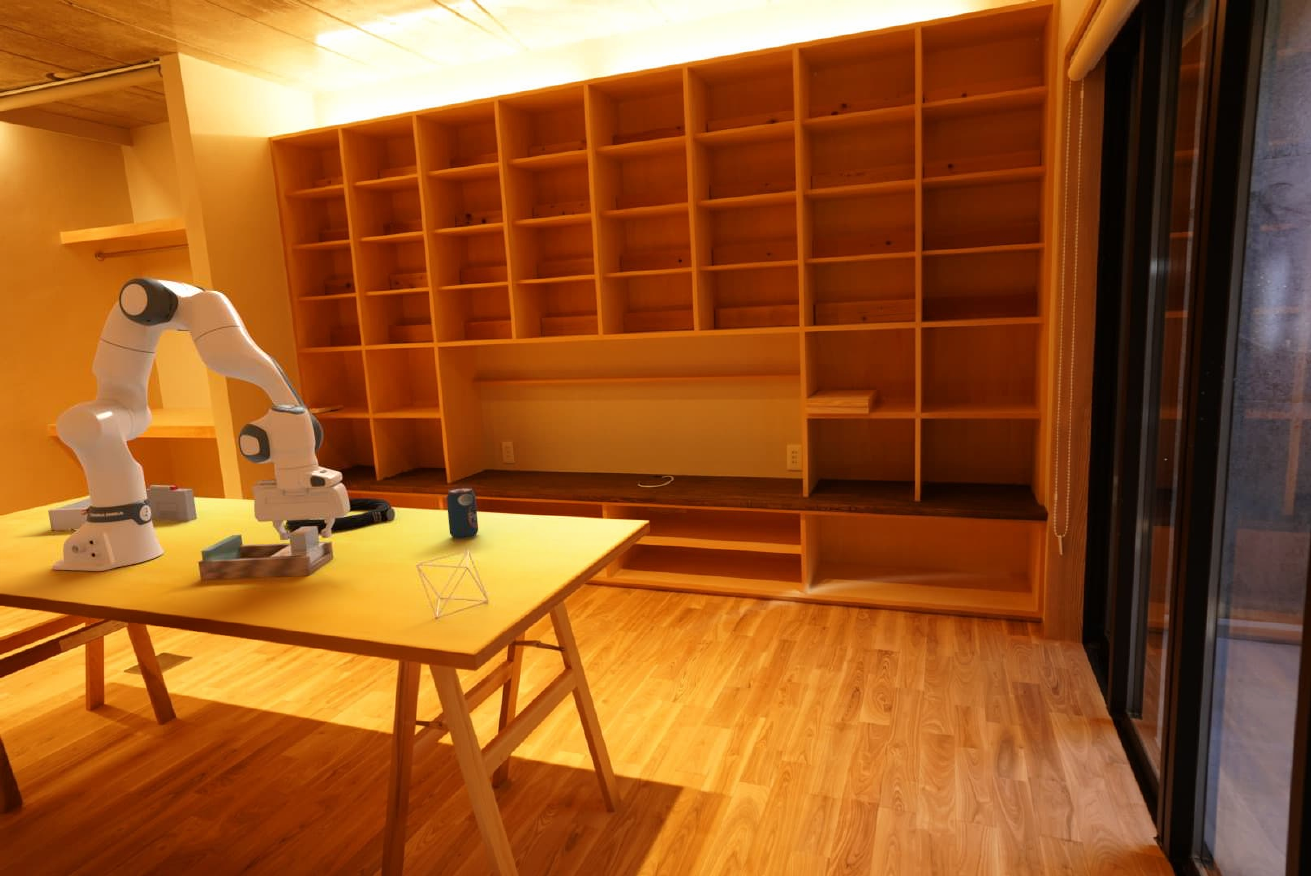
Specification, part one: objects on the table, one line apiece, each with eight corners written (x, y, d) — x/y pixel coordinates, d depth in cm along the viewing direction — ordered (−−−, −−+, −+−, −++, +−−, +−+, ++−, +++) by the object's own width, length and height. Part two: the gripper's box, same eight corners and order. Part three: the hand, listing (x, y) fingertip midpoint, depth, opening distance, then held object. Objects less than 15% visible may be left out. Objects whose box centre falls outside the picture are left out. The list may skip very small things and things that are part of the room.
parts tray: (51, 531, 216) (48, 510, 215) (110, 510, 239) (107, 491, 238) (96, 529, 216) (92, 508, 215) (151, 508, 239) (148, 490, 238)
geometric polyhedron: (413, 606, 145) (408, 560, 143) (464, 590, 152) (460, 546, 150) (444, 623, 136) (439, 575, 134) (497, 605, 143) (493, 559, 141)
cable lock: (325, 496, 229) (416, 496, 223) (327, 508, 230) (418, 508, 224) (261, 520, 203) (362, 521, 196) (263, 534, 203) (364, 535, 197)
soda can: (478, 538, 188) (474, 491, 186) (449, 541, 186) (445, 493, 184) (478, 531, 195) (474, 485, 193) (450, 534, 193) (446, 488, 191)
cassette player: (197, 519, 223) (192, 485, 221) (188, 521, 220) (183, 487, 219) (157, 517, 228) (152, 484, 226) (149, 519, 225) (144, 486, 224)
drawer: (200, 579, 166) (196, 550, 165) (232, 562, 178) (228, 535, 177) (309, 575, 166) (305, 546, 165) (333, 558, 177) (330, 531, 176)
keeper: (271, 567, 167) (267, 536, 166) (291, 554, 176) (288, 525, 175) (307, 566, 167) (303, 535, 166) (325, 553, 176) (322, 524, 175)
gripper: (243, 483, 166) (252, 544, 168) (336, 478, 165) (344, 540, 167) (259, 477, 172) (267, 536, 174) (348, 472, 171) (356, 532, 174)
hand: (306, 538), depth 171 cm, fingers open, 8 cm apart
